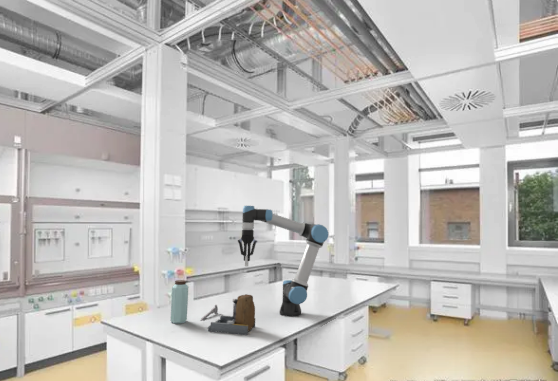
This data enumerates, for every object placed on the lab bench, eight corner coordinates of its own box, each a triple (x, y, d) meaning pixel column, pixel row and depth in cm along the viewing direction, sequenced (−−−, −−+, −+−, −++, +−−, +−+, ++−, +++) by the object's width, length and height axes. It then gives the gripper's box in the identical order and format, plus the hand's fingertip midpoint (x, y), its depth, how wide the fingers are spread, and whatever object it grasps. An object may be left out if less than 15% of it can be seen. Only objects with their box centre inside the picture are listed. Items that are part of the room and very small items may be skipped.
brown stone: (242, 333, 207) (244, 297, 208) (233, 330, 212) (235, 295, 213) (255, 329, 215) (257, 295, 216) (247, 326, 220) (249, 292, 221)
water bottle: (190, 320, 230) (192, 280, 231) (180, 324, 220) (182, 282, 222) (176, 318, 233) (178, 279, 235) (166, 322, 223) (169, 281, 225)
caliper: (216, 313, 250) (216, 304, 250) (217, 313, 249) (217, 304, 250) (200, 321, 231) (200, 310, 231) (201, 321, 230) (202, 311, 231)
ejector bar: (242, 324, 223) (243, 297, 224) (233, 333, 206) (234, 303, 207) (236, 324, 224) (237, 296, 225) (226, 332, 206) (227, 302, 208)
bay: (255, 326, 220) (255, 318, 221) (247, 335, 204) (247, 325, 205) (218, 323, 225) (218, 314, 226) (207, 331, 209) (208, 321, 210)
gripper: (259, 229, 240) (257, 266, 238) (240, 228, 243) (238, 264, 241) (255, 229, 233) (254, 267, 231) (236, 229, 235) (235, 266, 233)
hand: (246, 266), depth 236 cm, fingers closed
